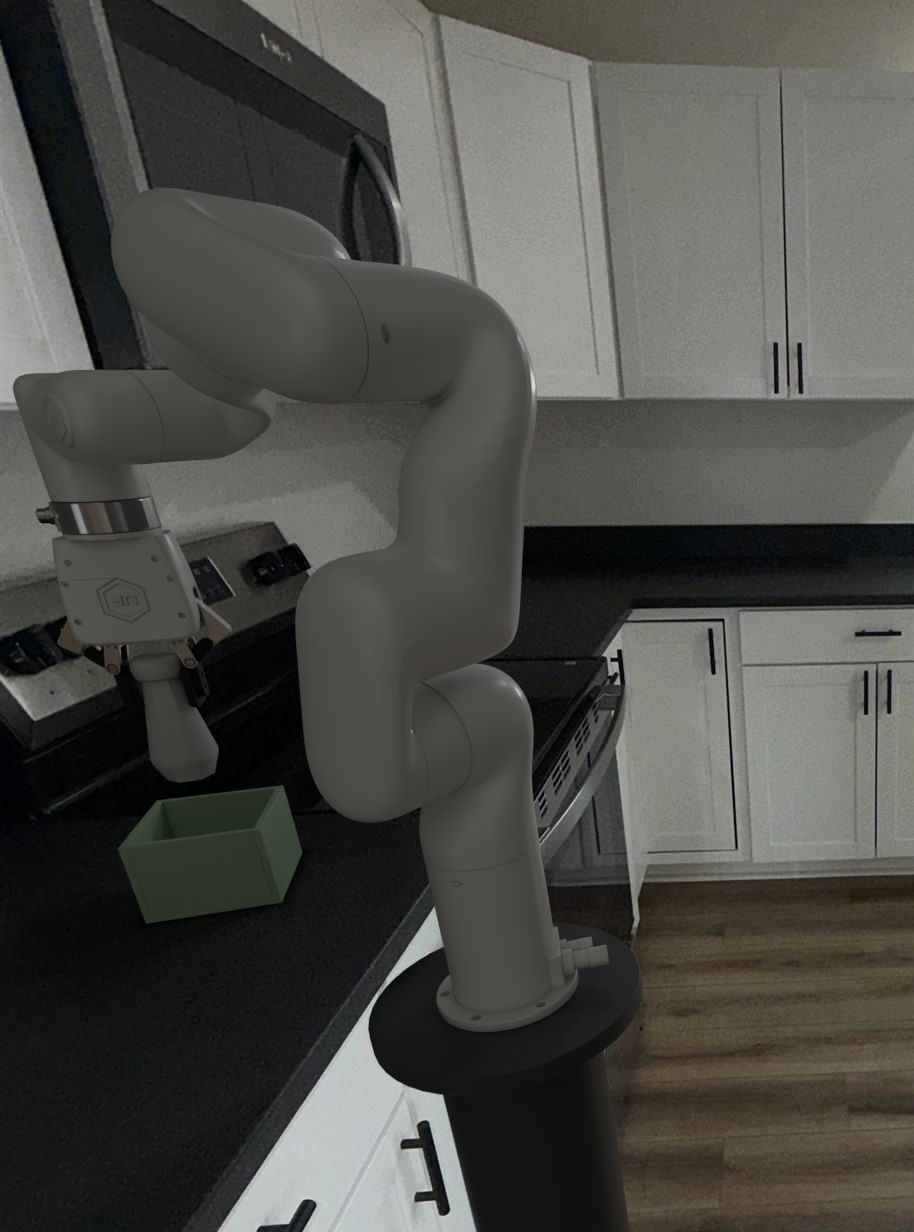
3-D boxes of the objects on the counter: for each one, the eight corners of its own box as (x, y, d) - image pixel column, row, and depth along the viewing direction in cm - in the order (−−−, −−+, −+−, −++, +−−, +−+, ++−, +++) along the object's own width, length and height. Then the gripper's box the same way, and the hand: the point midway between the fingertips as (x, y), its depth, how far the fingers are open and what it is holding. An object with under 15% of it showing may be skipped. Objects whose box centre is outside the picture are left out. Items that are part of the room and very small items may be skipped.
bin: (302, 852, 110) (283, 785, 106) (282, 902, 99) (259, 829, 95) (180, 870, 106) (156, 800, 102) (145, 924, 95) (117, 848, 92)
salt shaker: (148, 777, 96) (106, 655, 90) (209, 760, 100) (172, 642, 94) (172, 790, 92) (131, 664, 87) (234, 772, 97) (198, 651, 91)
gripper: (-23, 529, 80) (54, 728, 87) (204, 520, 85) (257, 708, 93) (16, 518, 86) (84, 704, 94) (224, 510, 91) (272, 687, 99)
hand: (169, 704), depth 93 cm, fingers closed on salt shaker, 4 cm apart
